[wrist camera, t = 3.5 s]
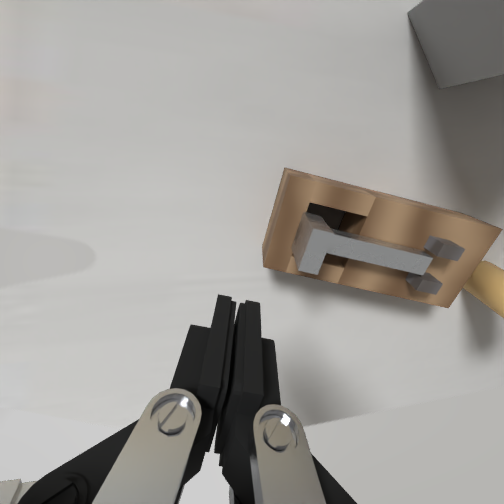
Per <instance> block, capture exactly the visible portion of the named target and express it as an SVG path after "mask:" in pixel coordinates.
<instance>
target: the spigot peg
mask: <svg viewBox="0 0 504 504" xmlns="http://www.w3.org/2000/svg"><path fill="white" fill-rule="evenodd" d="M463 288H464V289H466V290H467V291H468V292H469V293H471V294H472V295H473V296H475V297H476V298H477V299H479V300H480V301H481V302H483V303H484V304H485V305H487V306H488V307H489V308H491V309H492V310H493V311H495V312H496V313H497V314H499V315H500V316H501V317H503V318H504V270H502V269H501V268H499V267H497V266H495V265H493V264H492V263H490V262H487V261H480V263H479V264H478V266H477V267H476V269H475V270H474V272H473V273H472V275H471V276H470V278H469V279H468V280H467V282H466V283H465V285H464V286H463Z"/></svg>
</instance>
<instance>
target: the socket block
mask: <svg viewBox="0 0 504 504" xmlns="http://www.w3.org/2000/svg"><path fill="white" fill-rule="evenodd" d="M310 202H311V203H315V204H319V205H323V206H327V207H331V208H335V209H339V210H343V211H346V212H345V214H344V217H343V219H342V222H341V224H340V227H339V229H338V230H339V231H343V232H348V233H352V234H356V235H360V236H364V237H368V238H373V239H377V240H381V241H385V242H389V243H393V244H398V245H402V246H406V247H410V248H414V249H418V250H423V251H424V252H426V253H427V254H428V255H430V256H431V257H433V259H432V261H431V263H430V265H429V266H428V268H427V270H426V271H425V273H424V275H419V274H415V273H411V272H406V271H402V270H398V269H393V268H389V267H385V266H380V265H376V264H372V263H367V262H363V261H359V260H354V259H350V258H346V257H341V256H337V255H333V254H329V253H326V255H325V258H324V260H323V263H322V265H321V268H320V270H319V273H318V275H316V274H311V273H307V272H302V271H298V268H297V265H296V262H295V258H294V255H293V252H292V248H291V247H292V244H293V241H294V238H295V235H296V232H297V229H298V226H299V223H300V220H301V217H302V214H303V212H307V209H308V206H309V203H310ZM501 231H502V229H501V228H498V227H496V226H493V225H491V224H488V223H486V222H483V221H480V220H478V219H475V218H473V217H470V216H468V215H465V214H463V213H459V212H455V211H451V210H447V209H444V208H440V207H436V206H432V205H428V204H424V203H420V202H416V201H412V200H409V199H405V198H401V197H397V196H393V195H389V194H385V193H381V192H377V191H374V190H370V189H366V188H362V187H358V186H354V185H350V184H346V183H343V182H339V181H335V180H331V179H327V178H323V177H319V176H315V175H311V174H308V173H304V172H300V171H296V170H292V169H288V168H284V171H283V175H282V179H281V182H280V186H279V189H278V193H277V196H276V200H275V203H274V207H273V210H272V214H271V217H270V221H269V224H268V228H267V232H266V235H265V239H264V242H263V246H262V252H263V267H265V268H269V269H274V270H278V271H283V272H287V273H292V274H296V275H301V276H305V277H310V278H314V279H319V280H323V281H328V282H332V283H337V284H341V285H346V286H350V287H355V288H360V289H364V290H369V291H373V292H378V293H382V294H387V295H391V296H396V297H400V298H405V299H409V300H414V301H418V302H423V303H427V304H432V305H436V306H441V307H445V308H449V307H450V305H451V304H452V302H453V301H454V299H455V298H456V297H457V295H458V294H459V292H460V291H461V289H462V288H463V286H464V285H465V283H466V282H467V280H468V279H469V278H470V276H471V275H472V273H473V272H474V270H475V269H476V267H477V266H478V264H479V263H480V261H481V260H482V259H483V257H484V256H485V254H486V253H487V251H488V250H489V248H490V247H491V245H492V244H493V243H494V241H495V240H496V238H497V237H498V235H499V234H500V232H501Z"/></svg>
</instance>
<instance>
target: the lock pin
mask: <svg viewBox="0 0 504 504" xmlns="http://www.w3.org/2000/svg"><path fill="white" fill-rule="evenodd" d="M291 248H292V252H293V255H294V258H295V262H296V265H297V268H298V271H302V272H307V273H311V274H316V275H318V273H319V270H320V268H321V265H322V263H323V260H324V258H325V255H326V253H329V254H333V255H337V256H341V257H346V258H350V259H354V260H359V261H363V262H367V263H372V264H376V265H380V266H385V267H389V268H393V269H398V270H402V271H406V272H411V273H415V274H419V275H424V273H425V271H426V270H427V268H428V266H429V265H430V263H431V261H432V259H433V257H431V256H430V255H428V254H427V253H426V252H424V251H423V250H418V249H414V248H410V247H406V246H402V245H398V244H393V243H389V242H385V241H381V240H377V239H373V238H368V237H364V236H360V235H356V234H352V233H348V232H343V231H339V230H335V229H331V228H330V227H329V226H328V225H327V223H326V222H325V221H324V220H323V218H322V217H321V216H319V215H315V214H311V213H307V212H303V214H302V217H301V220H300V223H299V226H298V229H297V232H296V235H295V238H294V241H293V244H292V247H291Z"/></svg>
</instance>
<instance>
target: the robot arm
mask: <svg viewBox="0 0 504 504" xmlns="http://www.w3.org/2000/svg"><path fill="white" fill-rule="evenodd" d="M231 299H232V297H229V296H224V295H219V294H218V298H217V302H216V307H215V311H214V316H213V320H212V325H211V328H207V327H202V326H197V325H190V328H189V331H188V334H187V337H186V340H185V343H184V346H183V349H182V353H181V356H180V359H179V362H178V365H177V368H176V371H175V374H174V377H173V380H172V383H171V386H170V389H167V390H165V391H162V392H160V393H159V394H157V395H156V396H155V397H153V398H152V400H151V401H150V402H149V403H148V405H147V406H146V408H145V410H144V412H143V414H142V415H141V417H140V419H138V420H137V421H135V422H133V423H132V424H130V425H128V426H127V427H125V428H123V429H122V430H120V431H118V432H117V433H115V434H114V435H112V436H110V437H108V438H107V439H105V440H103V441H102V442H100V443H98V444H97V445H95V446H93V447H92V448H90V449H88V450H87V451H85V452H84V453H82V454H80V455H78V456H77V457H75V458H73V459H72V460H70V461H68V462H67V463H65V464H63V465H62V466H60V467H58V468H57V469H55V470H53V471H52V472H50V473H48V474H47V475H45V476H44V477H42V478H41V479H40V480H38V481H33V482H25V483H22V482H21V479H16V480H9V481H2V482H0V504H179V501H180V498H181V495H182V492H183V489H184V485H185V484H186V483H187V482H188V481H189V480H190V479H191V478H192V477H193V476H194V475H196V474H197V473H198V472H199V471H200V469H201V466H202V462H203V459H204V455H205V452H209V451H210V447H211V444H212V440H213V437H214V434H215V430H216V427H217V432H216V440H215V449H214V450H215V451H214V453H218V454H220V460H219V466H222V467H223V469H222V474H223V476H224V477H225V479H226V480H227V482H228V483H229V485H230V488H229V501H230V504H357V503H356V502H355V501H354V500H353V499H352V497H351V496H350V495H349V494H348V493H347V492H346V491H345V490H344V489H343V488H342V487H341V485H339V483H338V482H337V481H336V480H335V479H334V478H333V477H332V476H331V475H330V473H329V472H328V471H327V470H326V469H325V468H324V467H323V466H322V465H321V464H320V463H319V462H318V461H317V459H316V458H315V457H314V456H313V455H312V454H311V452H310V449H309V446H308V442H307V439H306V436H305V432H304V430H303V427H302V425H301V422H300V421H299V419H298V418H297V417H296V415H295V414H294V413H292V412H291V411H290V410H289V409H287V408H285V407H283V406H281V401H280V391H279V381H278V372H277V362H276V352H275V343H274V340H271V339H265V338H261V315H260V303H258V302H253V301H248V300H246V302H245V303H240V305H239V309H238V312H237V316H236V320H235V310H236V302H235V301H231ZM234 320H235V324H234ZM217 423H218V424H217Z"/></svg>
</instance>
